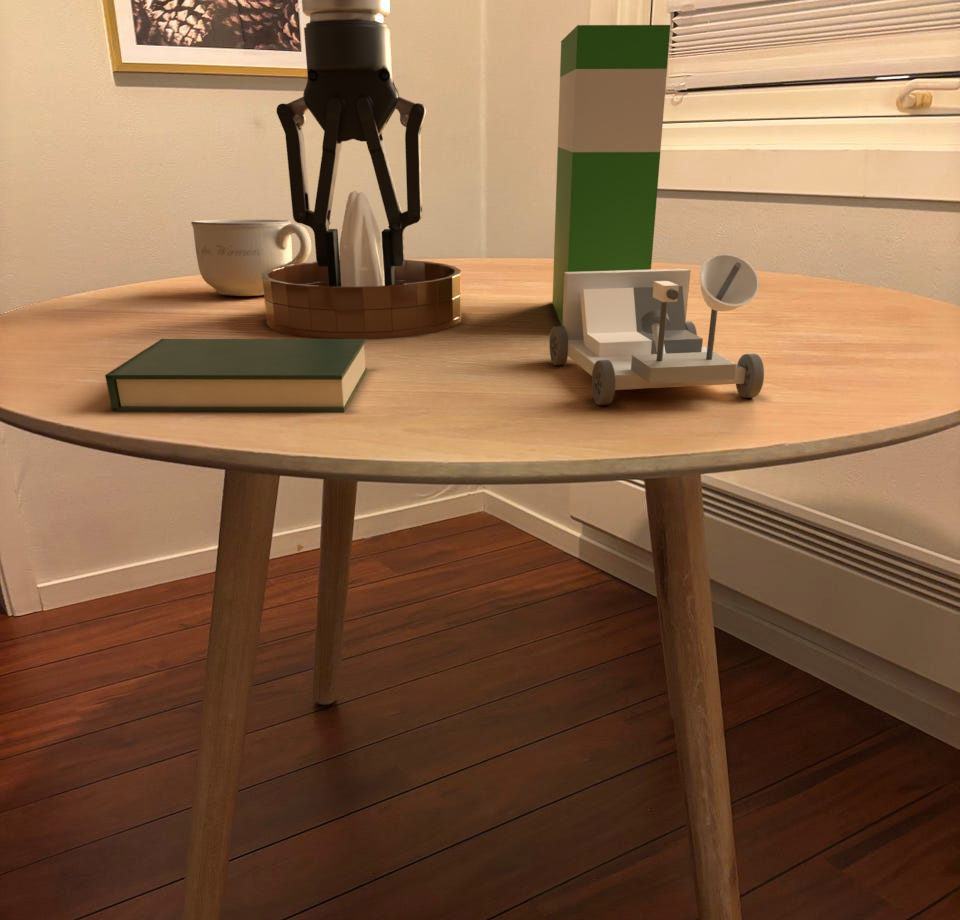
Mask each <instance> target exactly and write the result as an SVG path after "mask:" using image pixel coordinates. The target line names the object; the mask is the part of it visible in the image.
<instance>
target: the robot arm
mask: <svg viewBox="0 0 960 920" xmlns="http://www.w3.org/2000/svg"><path fill="white" fill-rule="evenodd" d="M301 8H302V13H303V14H304V15H305V16H307V17H309V22H307V23H306V24H305V27H303V33H304V34H303V35H304V45H305V59H306V75H307V80H306V85H305V87H304V90H303V94H302V95H303V96H302V97H300V98H297V99H294V100H292V101H290V102H288V103H280V104H278V105H277V107H276V114H277V117H278V119H279V122H280V124H281V128H282V129H283V132H284V136H285V145H286V156H287V166H288V168H287V169H288V179H289V188H290V189H289V190H290V199H291V200H290V201H291V207H292V208H291V210H292V211H291V212H292V218H293V220H294V222H295V223H296V224H302V225H304V226H307V227H309V228H311V230H312V231H313V235H314V247H315V259H316V260H315V262H317V263H318V265H319V266H328V277H329V286H341V273H340V243H339V231H338V228H330V225H331V222H330V221H331V215H332V214H331V213H332V209H333V200H334V195H335V187H336V181H337V175H338V167H339V160H340V154H341V150H342V145H343V142H349V141H352V140H355V141H357V142H358V141H359V142H365V143H366V146H367V150H368V153H369V156H370V159H371V163H372V166H373V170H374V174H375V177H376V181H377V186H378V189H379V194H380V197H381V201H382V203H383V208H384V212H385V215H386V219H387V224H388V226H387V227H388V228H384V229H383V230H382V231H381V241H382V249H383V265H384V284H385V285H395V275H394V266H402V265H403V263H404V260H406V254H405V253H406V249H405V229H406V228H408V227H409V226H412V225H414V224H417V223H419V222H420V221H421V219H422V218H423V185H422V184H423V181H422V146H421V145H422V143H421V140H422V139H421V133H422V129H423V127H424V122H425V119H426V115H427V108H426V106H425V105H424V104H423V103H418V102H417V103H415V102H413V101H411V100H408V99H405V98H403V97H401V96H400V94H399V91H398V89H397V87H396V85H395V82H394V78H393V77H394V76H393V55H392V34H391V33H392V32H391V28H390V27H389V24H388V23H384V18H387V17H388V16H389V15H390V14H391V13H390V12H391V10H390V9H391V7H390V0H301ZM396 110H397V111H398V113H399V121H400V122H399V123H400V124H401V125H402V126H403V127H405V133H404V145H405V147H404V148H405V149H404V150H405V177H406V179H405V181H406V206H407V207H406V208H407V209H406V211H403V212H402V208H401V204H400V199H399V196H398V192H397V188H396V185H395V180H394V177H393V173H392V168H391V165H390V162H389V157H388V153H387V149H386V143H385V139H384V135H383V131H384V129H385V127H386V126H387V124H388V122H389V121H390V119H391V117H392V115H393V114H394V112H395V111H396ZM307 111H309V112H310V113H311V115H312V116H313V118H314V119H315V120H316V122H317V123H318V125H319V126H320V127H321V129H322V130H323V137H322V138H323V139H322V146H321V149H322V150H321V151H322V152H321V159H320V166H319V172H318V173H319V174H318V180H317V188H316V195H315V202H314V209H313V210H311V206H310V196H309V195H310V193H309V182H308V171H307V160H306V147H305V138H304V137H305V136H304V131H303V127H304V126H305V125H306V123H307V117H306V114H307Z"/></svg>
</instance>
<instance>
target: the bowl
mask: <svg viewBox="0 0 960 920" xmlns="http://www.w3.org/2000/svg"><path fill="white" fill-rule="evenodd" d="M394 275H395V285H379V286H329V277H328V266H319V265H318V263H317V261H309V262H304V263H299V264H292V265H287V266H281V267H277V268H273V269H270V270H267V271H266V272H264V273H262V284H263V293H264V295H263V301H264V309H265V317H266V324H267V326H268V328H270V329H271V330H274V331H276V332H279V333H281V334H285V335H286V334H287V335H291V336H298V337H303V338H311V339H365V340H376V339H394V338H403V337H404V338H405V337H412V336H413V337H414V336H418V335H425V334H430V333H435V332H441V331H443V330H446V329H449V328H453V327H454V326H456V325H458V324H459V323H461V321H462V308H463V307H462V305H463V304H462V302H463V301H462V270H461V268H458V267H456V266H455V265H450V264H447V263H442V262H434V261H428V260H427V261H426V260H415V259H414V260H413V259H405V260H404V263H403V265H402V266H394Z"/></svg>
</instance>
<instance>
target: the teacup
mask: <svg viewBox="0 0 960 920" xmlns="http://www.w3.org/2000/svg"><path fill="white" fill-rule="evenodd" d="M190 223H191V224H190V225H191V227H192V230H193V238H194V246H195V254H196V260H197V266H198V270H199V274H200V276H201V278H202V279H203V281H204V282H205V283H206V284H207V285H209V286H210V287H212V288H213V289H214V291H215V292H216V293H217V294H219V295H223V296H235V297H237V296H238V297H253V296H254V297H255V296H256V297H257V296H264V293H263V284H262V273H264V272H266V271H267V270H270V269H273V268H277V267H281V266H287V265H292V264H299V263H306V261H307V260H308V258H309V256H310V254H311V251H312V240H311V236H310V233H309V232H308V230H307V229H306V228H305V227H304V226H303V225H300V224H299V223H292V222H291V220H288V219H286V220H285V219H199V220H191V222H190ZM292 234H295V235H296V236H297V238H298V240H299V246H300V247H299V251H298V253H297V254H296V256H295V257H294V258H293V248H292Z"/></svg>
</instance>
